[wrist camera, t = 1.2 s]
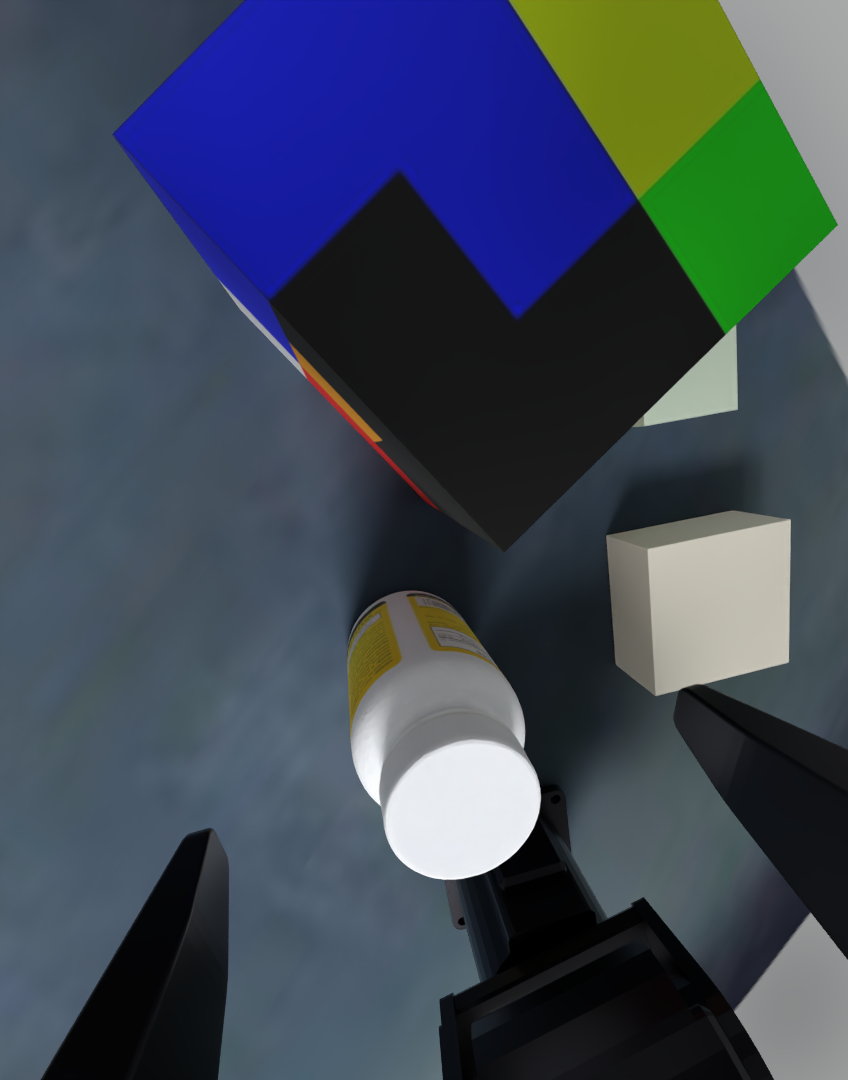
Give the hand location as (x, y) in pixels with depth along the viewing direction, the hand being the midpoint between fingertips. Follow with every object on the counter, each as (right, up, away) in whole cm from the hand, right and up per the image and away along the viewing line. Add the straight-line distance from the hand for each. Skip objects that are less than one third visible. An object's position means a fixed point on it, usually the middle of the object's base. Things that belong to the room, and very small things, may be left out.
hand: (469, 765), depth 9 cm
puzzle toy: (-1, +13, +10) cm, 16 cm away
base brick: (+11, +2, +14) cm, 18 cm away
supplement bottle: (-2, -1, +12) cm, 12 cm away
